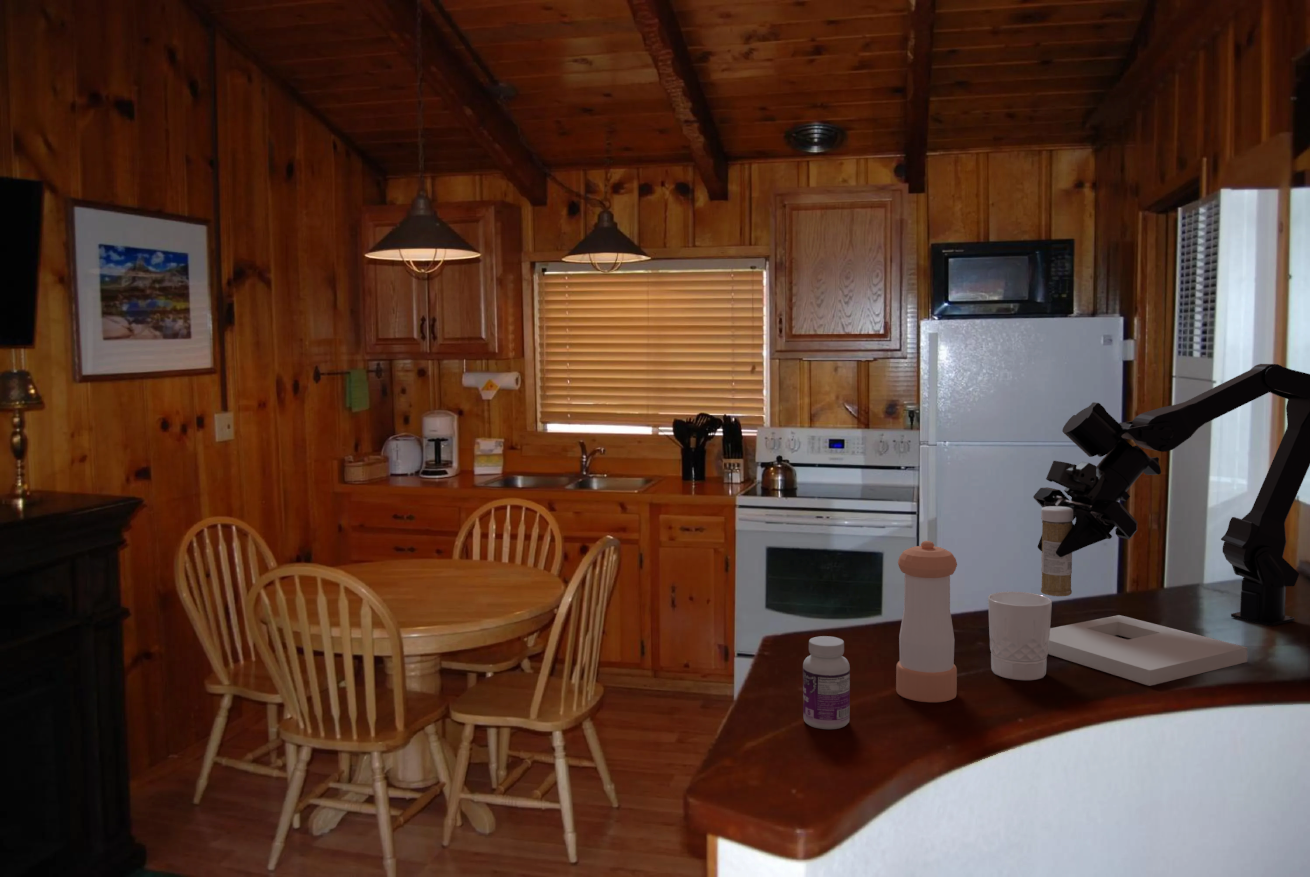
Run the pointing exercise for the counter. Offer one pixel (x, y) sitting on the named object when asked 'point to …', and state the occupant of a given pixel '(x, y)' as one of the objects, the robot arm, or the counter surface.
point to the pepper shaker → (926, 626)
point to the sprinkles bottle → (1052, 565)
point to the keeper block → (1141, 649)
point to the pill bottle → (826, 684)
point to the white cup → (1019, 634)
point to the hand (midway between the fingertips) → (1048, 552)
